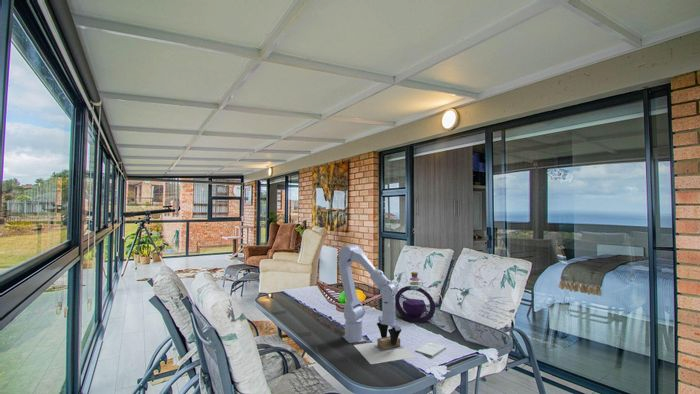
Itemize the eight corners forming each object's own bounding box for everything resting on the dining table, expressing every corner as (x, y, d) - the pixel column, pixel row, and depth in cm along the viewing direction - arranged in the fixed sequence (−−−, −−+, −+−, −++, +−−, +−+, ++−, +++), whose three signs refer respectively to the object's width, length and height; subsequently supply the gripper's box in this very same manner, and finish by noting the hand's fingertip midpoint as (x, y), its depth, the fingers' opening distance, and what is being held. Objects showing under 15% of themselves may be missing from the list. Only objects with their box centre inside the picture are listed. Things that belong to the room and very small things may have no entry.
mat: (353, 346, 161) (353, 344, 161) (394, 340, 168) (394, 339, 168) (370, 365, 142) (370, 364, 142) (415, 358, 149) (415, 356, 149)
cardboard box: (394, 343, 163) (394, 335, 163) (400, 346, 159) (400, 338, 159) (377, 346, 159) (377, 338, 159) (383, 350, 155) (383, 342, 155)
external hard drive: (415, 353, 154) (429, 345, 164) (432, 359, 149) (446, 349, 158) (415, 350, 154) (429, 341, 164) (432, 355, 149) (446, 346, 158)
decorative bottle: (393, 322, 193) (393, 275, 194) (395, 310, 214) (395, 268, 214) (436, 324, 189) (436, 276, 190) (434, 312, 210) (434, 269, 210)
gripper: (372, 307, 164) (372, 337, 164) (390, 316, 151) (390, 349, 151) (385, 305, 167) (385, 335, 167) (404, 314, 154) (404, 346, 154)
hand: (388, 341), depth 159 cm, fingers open, 7 cm apart
